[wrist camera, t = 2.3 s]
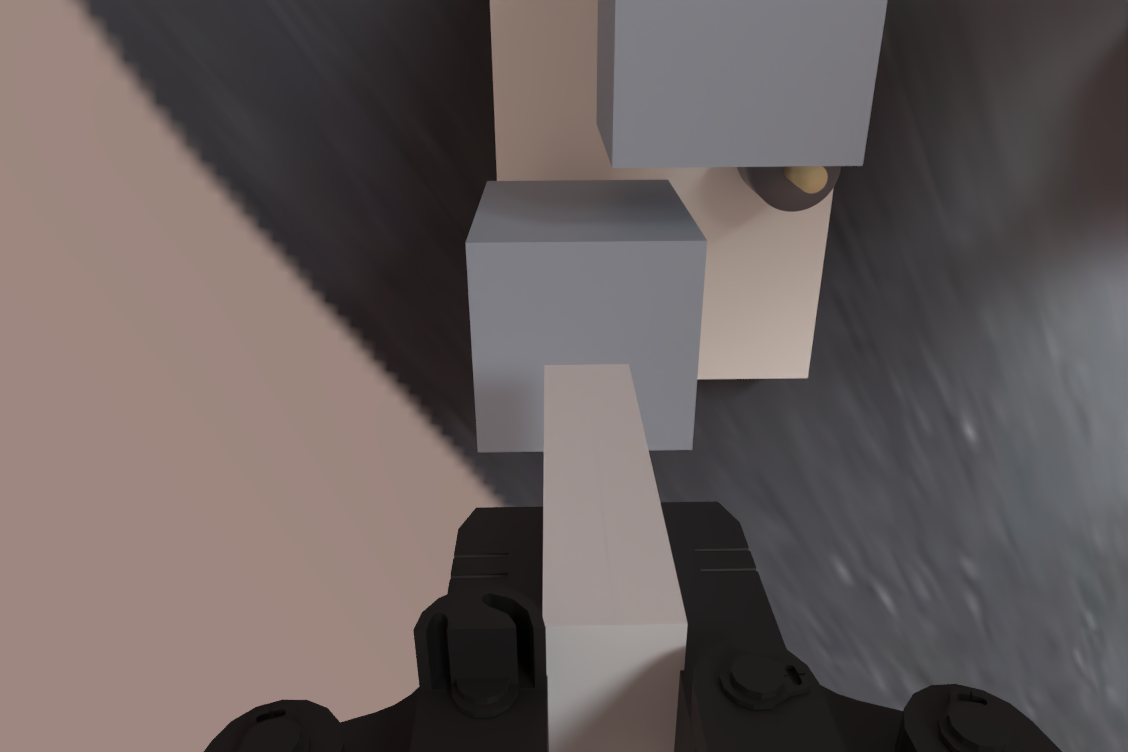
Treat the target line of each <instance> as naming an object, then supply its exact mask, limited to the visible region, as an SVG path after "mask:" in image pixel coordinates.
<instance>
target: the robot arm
mask: <svg viewBox="0 0 1128 752" xmlns="http://www.w3.org/2000/svg"><path fill="white" fill-rule="evenodd" d="M414 639H415V648H416V658H417V667H418V676H419V685H420V687H419V688H418V689H416V690H415V691H414V692H413V693H412V694H411V695H410V696H408V697H406V698H405V699H403V700H402V701H400V702H398V703H397V704H395V705H393V706H391V707H388V708H385V709H383V710H380V711H378V712H375V713H372V714H368V715H365V716H361V717H358V718H354V719H351V720H348V721H345V722H341V723H340V722H339V721H338V720H337V719H336V718H335V716H334V715H333V714H332V713H331V712H330V711H329V709H328V708H326V707H323V706H321V705H318V704H316V703H313V702H311V701H308V700H280V701H276V702H273V703H270V704H265V705H262V706H259V707H255V708H254V709H252V710H250V711H249V712H247V713H245V714H243V715H242V716H240V717H238V718H236V719H235V720H233V721H232V722H230V723H229V724H228V725H227V726H226V728H224V729H223V730H222V731H221V732H220V733H219V734H218V735H217V736H216V738H214V739H213V740H212V741H211V743H210V744H209V745H208V747H207V748H206V749H205V751H204V752H1062V751H1061V750H1060V749H1059V748H1058V747H1057V746H1056V745H1055V744H1054V743H1053V742H1052V741H1051V740H1050V739H1049V738H1048V737H1047V736H1046V735H1045V734H1044V733H1043V732H1042V731H1041V730H1040V729H1039V728H1038V727H1037V726H1036V725H1035V724H1034V723H1033V722H1032V721H1031V720H1030V719H1029V718H1027V717H1026V716H1025V715H1024V714H1022V713H1021V712H1020V711H1019V710H1017V709H1016V708H1015V707H1014V706H1012V705H1011V704H1010V703H1008V702H1006V701H1004V700H1002V699H1000V698H998V697H996V696H994V695H991V694H989V693H987V692H985V691H983V690H979V689H975V688H971V687H966V686H962V685H957V684H947V685H931V686H929V687H927V688H925V689H923V690H920V691H918V692H916V693H914V694H913V695H912V697H911V699H910V700H909V702H908V703H907V705H906V706H905V708H904V711H900V710H895V709H891V708H887V707H883V706H879V705H874V704H870V703H866V702H862V701H858V700H855V699H852V698H849V697H845V696H842V695H839V694H837V693H835V692H833V691H831V690H829V689H827V688H825V687H823V686H821V685H819V682H818V681H817V679H816V678H815V676H814V675H813V673H812V672H811V670H810V669H809V667H808V666H807V665H806V664H805V663H804V662H802V661H801V660H800V659H798V658H797V657H796V656H795V655H793V654H792V653H791V652H789V651H788V650H787V649H786V647H785V644H784V641H783V639H782V636H781V633H780V631H779V628H778V625H777V622H776V620H775V617H774V614H773V612H772V609H771V606H770V604H769V601H768V598H767V595H766V593H765V590H764V587H763V585H762V582H761V579H760V576H759V574H758V572H756V566H755V563H754V560H753V557H752V555H751V552H750V551H749V550H748V544H747V541H746V539H745V536H744V533H743V530H742V528H741V525H740V522H739V521H738V520H737V519H735V518H734V517H733V516H732V515H731V514H730V513H729V512H728V511H727V510H726V509H725V508H724V507H723V506H722V505H721V504H720V503H718V502H664V503H660V499H659V495H658V490H657V486H656V481H655V477H654V473H653V468H652V464H651V459H650V455H649V450H648V446H647V442H646V437H645V433H644V428H643V424H642V419H641V415H640V411H639V406H638V402H637V397H636V393H635V388H634V384H633V380H632V375H631V371H630V366H629V364H584V365H544V485H543V507H493V508H476V509H475V510H474V511H473V512H472V513H471V515H470V516H469V517H468V518H467V520H466V521H465V522H464V523H463V524H462V526H461V527H460V528H459V529H458V535H457V541H456V546H455V552H454V559H453V564H452V570H451V579H450V582H449V588H448V594H447V595H445V596H443V597H441V598H438V599H437V600H436V601H435V602H434V603H433V604H432V605H430V606H429V607H428V608H427V609H426V610H425V611H423V612H422V614H421V616H420V618H419V620H418V622H417V624H416V626H415V628H414Z"/></svg>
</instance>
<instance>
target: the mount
mask: <svg viewBox="0 0 1128 752" xmlns="http://www.w3.org/2000/svg"><path fill="white" fill-rule="evenodd" d="M490 20H491V45H492V69H493V94H494V119H495V144H496V168H497V181H551V180H669V182H670V183H671V185H672V187H673V188H674V190H675V191H676V193H677V194H678V196H679V197H680V199H681V201H682V202H683V204H684V205H685V207H686V208H687V210H688V211H689V213H690V215H691V216H692V218H693V219H694V221H695V222H696V224H697V225H698V227H699V229H700V230H701V232H702V233H703V235H704V236H705V238H706V239H707V252H706V266H705V279H704V293H703V307H702V321H701V335H700V349H699V362H698V376H697V379H775V378H808V372H809V365H810V357H811V350H812V343H813V335H814V328H815V321H816V313H817V306H818V299H819V291H820V284H821V277H822V270H823V262H824V255H825V248H826V240H827V233H828V226H829V218H830V211H831V204H832V196H833V189H834V188H833V189H832V191H831V192H830V193H829V194H828V195H827V196H826V197H825V198H824V199H823V200H822V201H821V202H819V203H818V204H816V205H815V206H813V207H811V208H808V209H805V210H802V211H795V212H788V211H782V210H778V209H776V208H774V207H772V206H770V205H769V204H767V203H766V202H765V201H764V200H763V199H762V198H761V197H760V196H759V195H758V194H757V193H755V192H754V191H753V190H752V189H751V188H750V187H749V186H748V185H747V184H746V183H745V182H744V181H743V179H742V178H741V176H740V174H739V172H738V169H737V167H660V168H612V166H611V163H610V160H609V158H608V155H607V152H606V149H605V146H604V144H603V141H602V138H601V135H600V132H599V130H598V127H597V124H596V116H597V28H598V0H490Z"/></svg>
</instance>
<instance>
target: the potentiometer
mask: <svg viewBox="0 0 1128 752" xmlns="http://www.w3.org/2000/svg"><path fill="white" fill-rule="evenodd" d="M737 169H738V172H739V174H740V176H741V178H742V179H743V181H744V182H745V183H746V184H747V185H748V186H749V187H750V188H751V189H752V190H753V191H754V192H755V193H757V194H758V195H759V196H760V197H761V198H762V199H763V200H764V201H765V202H766V203H767V204H769V205H770V206H772V207H774V208H776V209H778V210H782V211H788V212H795V211H802V210H805V209H808V208H811V207H813V206H815V205H816V204H818V203H819V202H821V201H822V200H823V199H824V198H825V197H826V196H827V195H828V194H829V193H830V192H831V191H832V189H833V188H834V186H835V184H836V182H837V180H838V177H839V174H840V170H841V166H784V167H737Z"/></svg>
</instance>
